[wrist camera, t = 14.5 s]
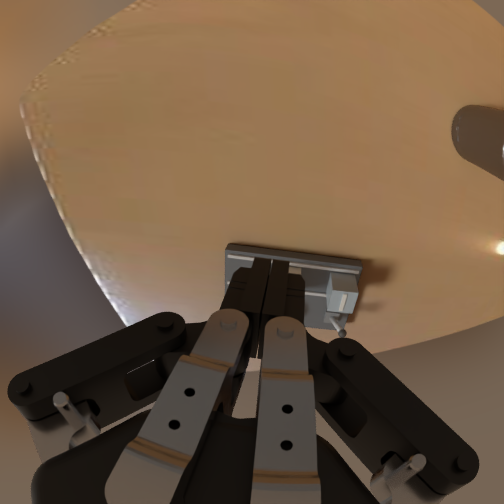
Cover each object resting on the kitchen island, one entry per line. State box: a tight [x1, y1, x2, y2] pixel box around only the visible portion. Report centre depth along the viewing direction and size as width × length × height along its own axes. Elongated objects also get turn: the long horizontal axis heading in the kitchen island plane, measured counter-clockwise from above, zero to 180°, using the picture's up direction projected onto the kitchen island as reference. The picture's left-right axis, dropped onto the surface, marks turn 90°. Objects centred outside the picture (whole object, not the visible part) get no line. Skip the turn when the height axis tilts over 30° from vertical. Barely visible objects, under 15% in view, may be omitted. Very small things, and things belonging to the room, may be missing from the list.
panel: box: [225, 244, 363, 338], centre depth 49 cm, size 22×14×7 cm, turn 87°
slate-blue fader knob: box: [326, 272, 359, 314], centre depth 45 cm, size 4×4×5 cm
